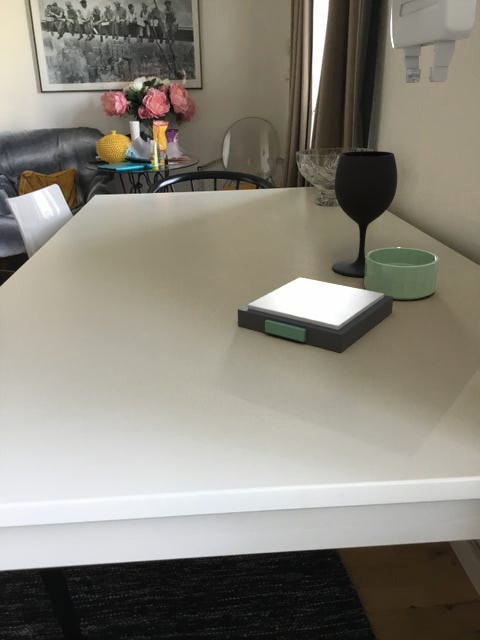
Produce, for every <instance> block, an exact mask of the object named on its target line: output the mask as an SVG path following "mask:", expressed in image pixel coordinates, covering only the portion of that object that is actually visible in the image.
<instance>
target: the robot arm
mask: <svg viewBox="0 0 480 640" xmlns="http://www.w3.org/2000/svg"><path fill="white" fill-rule="evenodd" d="M390 9H391V11H390V14H391V15H390V16H391V17H390V39H391V44H392V48H393V49H394V50H402V61H403V66H404V82H405V83H407V84H410V83H413V84H415V83H419V82H420V81H421V74H422V69H421V68H420V56H421V53H422V48H423V47H428V46H433V52H434V55H433V56H434V57H433V61H432V66H430V67H429V76H428V81H429V82H430V83H444V82H446V81H447V79H448V73H449V71H448V70H449V66H450V64H451V61H452V58H453V56H454V53H455V51H456V41H462V40H466V39H469V38H470V37H471V36H472V32H473V31H474V29H475V24H476V13H477V0H391V8H390Z"/></svg>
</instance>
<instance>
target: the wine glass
mask: <svg viewBox="0 0 480 640" xmlns="http://www.w3.org/2000/svg"><path fill="white" fill-rule="evenodd" d="M333 187H334V194H335V198H336V201H337V204H338V205H339V208H340V209H341V210H342V211H343V212H344V214H345V215H347V216H348V218H350V219H351V220H352V221H353V222H354V223H356V224H357V227H358V233H359V242H358V244H359V245H358V253H357V258H347V259H342V260H341V259H340V260H338V261H335V262H334V263H333V264H332V265H331V269H332V271H333V272H334V273H335V274H337V275H340V274H341V275H340V276H345V277H349V276H350V278H358V277H359V279H360V278H361V279H364V276H365V259H366V237H367V230H368V227H369V225H370V224H371V223H372V222H374V221H376V220H377V219H378V218H380V217H381V216H382V215H383V214H384V213H385V212H386V211H387V210H388V209H389V207H390V206H391V205H392V203H393V201H394V199H395V196H396V193H397V187H398V168H397V162H396V156H395V153H394V152H392V151H381V150H380V151H379V150H359V151H358V150H357V151H356V150H355V151H347V152H342V153H340V154H339V158H338V161H337V165H336V169H335V174H334V186H333Z"/></svg>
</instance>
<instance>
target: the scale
mask: <svg viewBox="0 0 480 640" xmlns="http://www.w3.org/2000/svg"><path fill="white" fill-rule="evenodd" d="M393 305H394V299H393V297H392V296H387V295H384V293H378V292H373V291H368V290H367V289H363V288H356V287H351V286H348V285H347V286H346V285H340V284H336V283H331V282H326V281H320V280H316V279H315V280H314V279H310V278H304V277H298V278H296V279H293V280H292V281H290V282H288V283H286V284H284V285H282V286H280V287H278V288H276V289H274V290H272V291H271V292H269V293H267V294H265V295H263V296H260V297H259V298H257V299H254V300H253V301H251V302H249V303H247V304H246V305H244V306H243V305H242V306H241V307H239V308H237V326H238V327H241V328H245V329H249V330H253V331H255V332H260V333H263V334H264V333H265V334H267V335H271V336H274V337H278V338H279V337H280V338H283V339H287V340H290V341H294V342H297V343H301V344H305V345H309V346H313V347H317V348H319V349H324V350H328V351H331V352H332V351H333V352H336V353H340V354H341V353H343V352H344V351H346V350H347V349H348V348H350V347H351V346H352V345H353V344H354V343H356V342H357V341H358V340H359V339H361V338H362V337H363V336H364V335H366V334H367V333H368V332H370V331H371V330H372V329H373V328H375V327H376V326H377V325H378V324H380V323H381V322H382V321H383V320H385V319H386V318H388V317H389V316H390V315H392V313H393Z"/></svg>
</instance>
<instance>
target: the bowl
mask: <svg viewBox="0 0 480 640" xmlns="http://www.w3.org/2000/svg"><path fill="white" fill-rule="evenodd" d="M365 258H366V259H365V276H364V278H363V287H364V288H365V290H368V291H373V292H378V293H384V295H387V296H392V297H393V300H398V301H409V300H410V301H411V300H412V301H413V300H417V299H418V300H419V299H422V298H426V297H428V296H431V295H432V294H434V293H435V292H436V289H437V279H438V268H439V256H438V255H437V254H436V253H433V252H431V251H428V250H424V249H419V248H412V247H400V246H399V247H397V246H396V247H395V246H394V247H382V248H377V249H373V250H370V251H368V252H366V253H365Z"/></svg>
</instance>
